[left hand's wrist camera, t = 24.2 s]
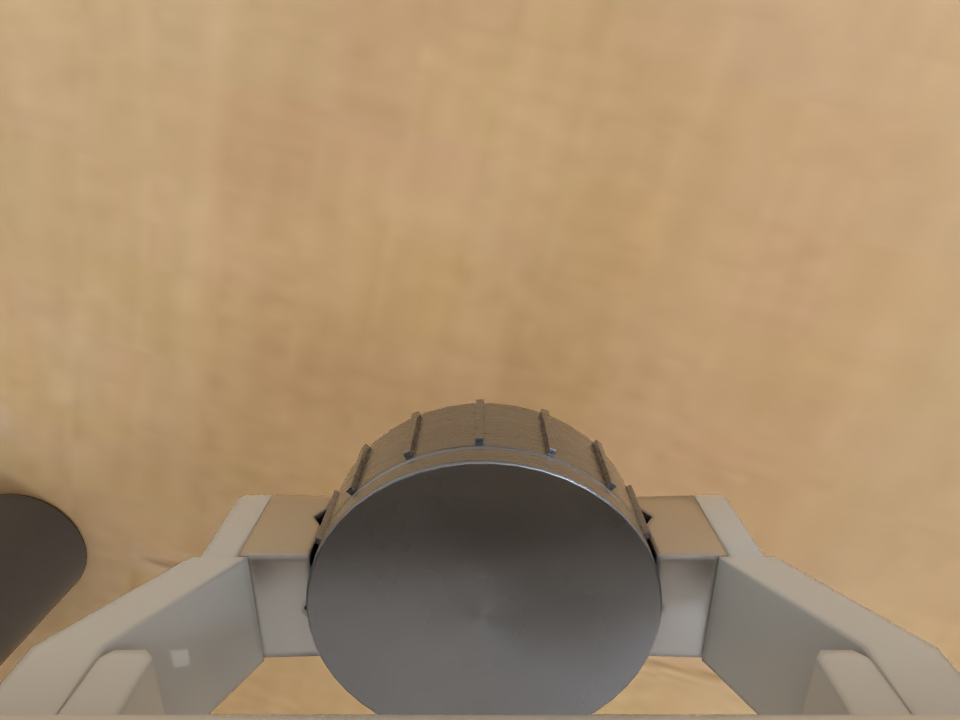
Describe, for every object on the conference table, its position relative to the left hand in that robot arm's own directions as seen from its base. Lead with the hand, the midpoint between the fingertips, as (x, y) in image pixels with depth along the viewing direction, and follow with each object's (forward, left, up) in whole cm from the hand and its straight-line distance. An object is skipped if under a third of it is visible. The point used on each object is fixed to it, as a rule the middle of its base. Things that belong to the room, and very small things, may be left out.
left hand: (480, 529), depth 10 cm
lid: (0, 0, +2) cm, 2 cm away
